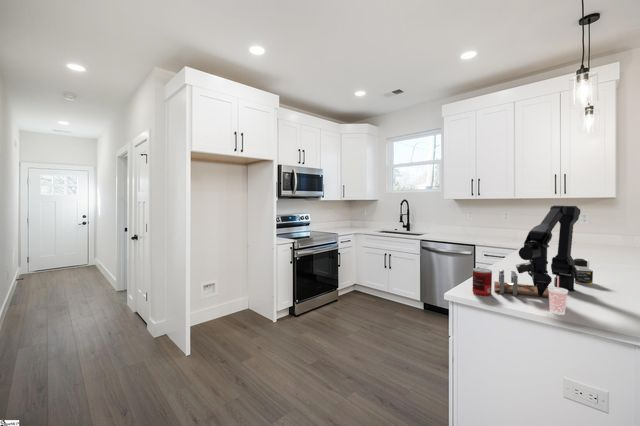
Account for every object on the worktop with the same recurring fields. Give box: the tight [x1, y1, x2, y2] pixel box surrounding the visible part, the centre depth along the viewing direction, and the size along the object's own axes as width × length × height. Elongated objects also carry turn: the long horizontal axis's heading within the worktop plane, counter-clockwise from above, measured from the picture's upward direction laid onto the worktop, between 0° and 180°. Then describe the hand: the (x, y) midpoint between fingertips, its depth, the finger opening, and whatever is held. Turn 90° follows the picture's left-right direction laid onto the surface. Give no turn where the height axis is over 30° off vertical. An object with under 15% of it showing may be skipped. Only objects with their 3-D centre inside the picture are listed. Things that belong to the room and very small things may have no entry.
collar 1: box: [498, 269, 505, 296], centre depth 138 cm, size 2×10×10 cm, turn 152°
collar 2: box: [510, 270, 519, 297], centre depth 136 cm, size 2×10×9 cm, turn 152°
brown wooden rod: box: [493, 281, 549, 298], centre depth 135 cm, size 21×4×4 cm, turn 62°
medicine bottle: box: [573, 258, 594, 286], centre depth 152 cm, size 7×7×12 cm
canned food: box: [472, 267, 493, 297], centre depth 136 cm, size 8×8×11 cm
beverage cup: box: [548, 276, 569, 316], centre depth 113 cm, size 6×6×14 cm
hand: (538, 292), depth 132 cm, fingers open, 9 cm apart
